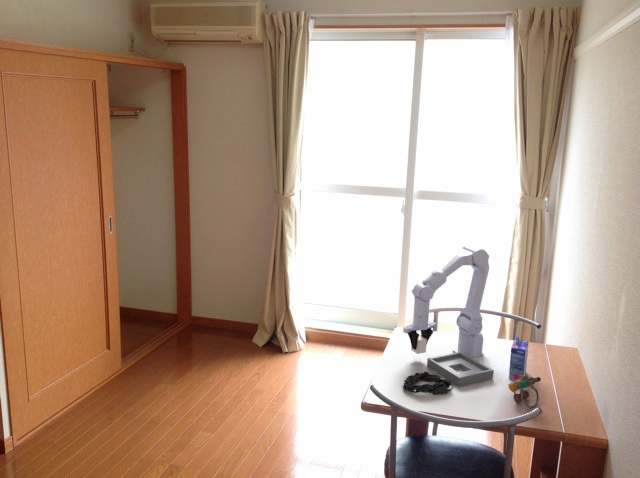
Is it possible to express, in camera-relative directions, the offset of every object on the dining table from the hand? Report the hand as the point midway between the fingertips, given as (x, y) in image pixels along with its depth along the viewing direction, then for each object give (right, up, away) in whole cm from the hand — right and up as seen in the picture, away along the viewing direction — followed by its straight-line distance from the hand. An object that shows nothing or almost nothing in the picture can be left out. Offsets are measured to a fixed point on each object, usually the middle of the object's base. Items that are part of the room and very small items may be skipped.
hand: (418, 347), depth 221 cm
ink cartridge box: (+35, -9, -10) cm, 37 cm away
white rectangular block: (0, -1, 0) cm, 1 cm away
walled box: (+13, -7, -10) cm, 18 cm away
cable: (-2, -10, -22) cm, 24 cm away
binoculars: (+30, -13, -30) cm, 44 cm away
